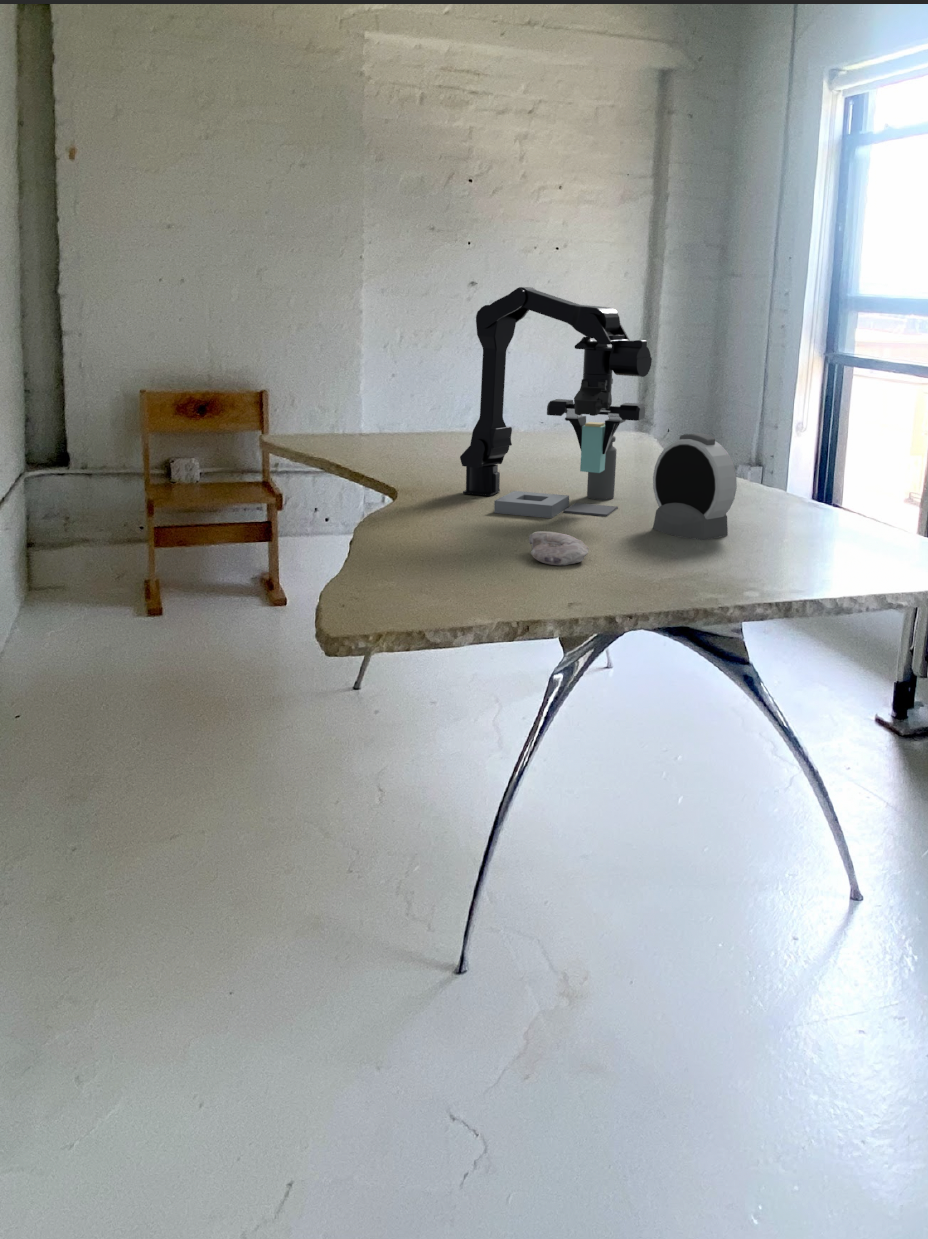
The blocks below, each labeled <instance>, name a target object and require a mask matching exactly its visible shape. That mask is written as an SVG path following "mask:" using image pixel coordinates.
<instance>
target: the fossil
mask: <svg viewBox="0 0 928 1239" xmlns="http://www.w3.org/2000/svg"><path fill="white" fill-rule="evenodd" d="M528 536H529V537H528V543H529V545H532V546H531V549H532V550H531V552H530V554H531V556H532V557H533V558H534V559H535V560H536V561H538V562H540V563H543V564H546V565H551V566H562V567H563V566H569V565H575V564H578V563H580V562H582V561H584V560H585V557H587V555H588V554H589V549H590V547H589V546H588V545H586V544H585V543H584V541H583V540H581V539H578V538H576V537H575V536H572V535H569V534H566V533H565V534H564V533H561V532H555V531H542V530H541V531H540V530H539V531H535V532H533V533H530V534H529V535H528Z"/></svg>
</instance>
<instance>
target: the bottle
mask: <svg viewBox="0 0 928 1239" xmlns="http://www.w3.org/2000/svg"><path fill="white" fill-rule="evenodd" d="M616 438H617V437H616V436H615V435H613V437H612V440H611V442H610V444H609V447H608V449H607V451H606V455H605V470H604V471H602V472H600V473H594V472H587V487H586V488H587V489H586V497H587V498H588V499H592V500H602V501H603V500H604V501H605V500H606V501H607V500H612V499H614V497H615V484H616V469H617V468H616V467H617V466H616V465H617V452H618V451H617V448H616V447H615V446H613V443H614V442H616Z"/></svg>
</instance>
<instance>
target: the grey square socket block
mask: <svg viewBox="0 0 928 1239" xmlns="http://www.w3.org/2000/svg"><path fill="white" fill-rule="evenodd" d="M493 505H494V506H493V508H494V509H493V512H494V514H503V515H513V516H524V517H525V516H526V517H536V518H543V519H545V518H547V519H552V518H554V517H556V516H558V515H559V514H560V513H562V512H563V511H564V510H565V509H567V508H568V507H570V495H568V494H559V493H558V494H557V493H556V494H555V493H546V492H545V493H544V492H533V491H522V490H521V491H520V490H513V491H511V492H509V493H507V494H505V495H502V496H501V497H498V498H497V499H495V500H494V504H493Z"/></svg>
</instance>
